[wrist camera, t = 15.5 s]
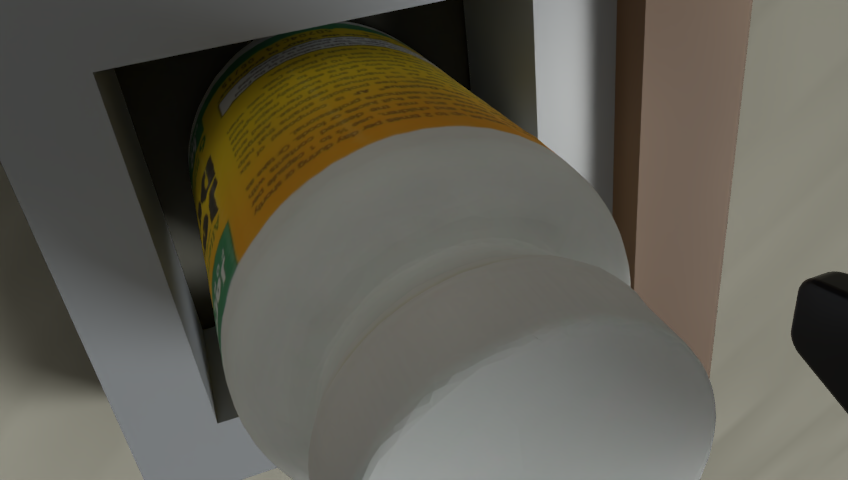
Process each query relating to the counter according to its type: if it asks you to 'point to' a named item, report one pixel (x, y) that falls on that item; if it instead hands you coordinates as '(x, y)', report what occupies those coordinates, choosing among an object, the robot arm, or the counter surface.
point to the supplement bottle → (423, 281)
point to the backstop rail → (677, 152)
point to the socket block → (139, 205)
